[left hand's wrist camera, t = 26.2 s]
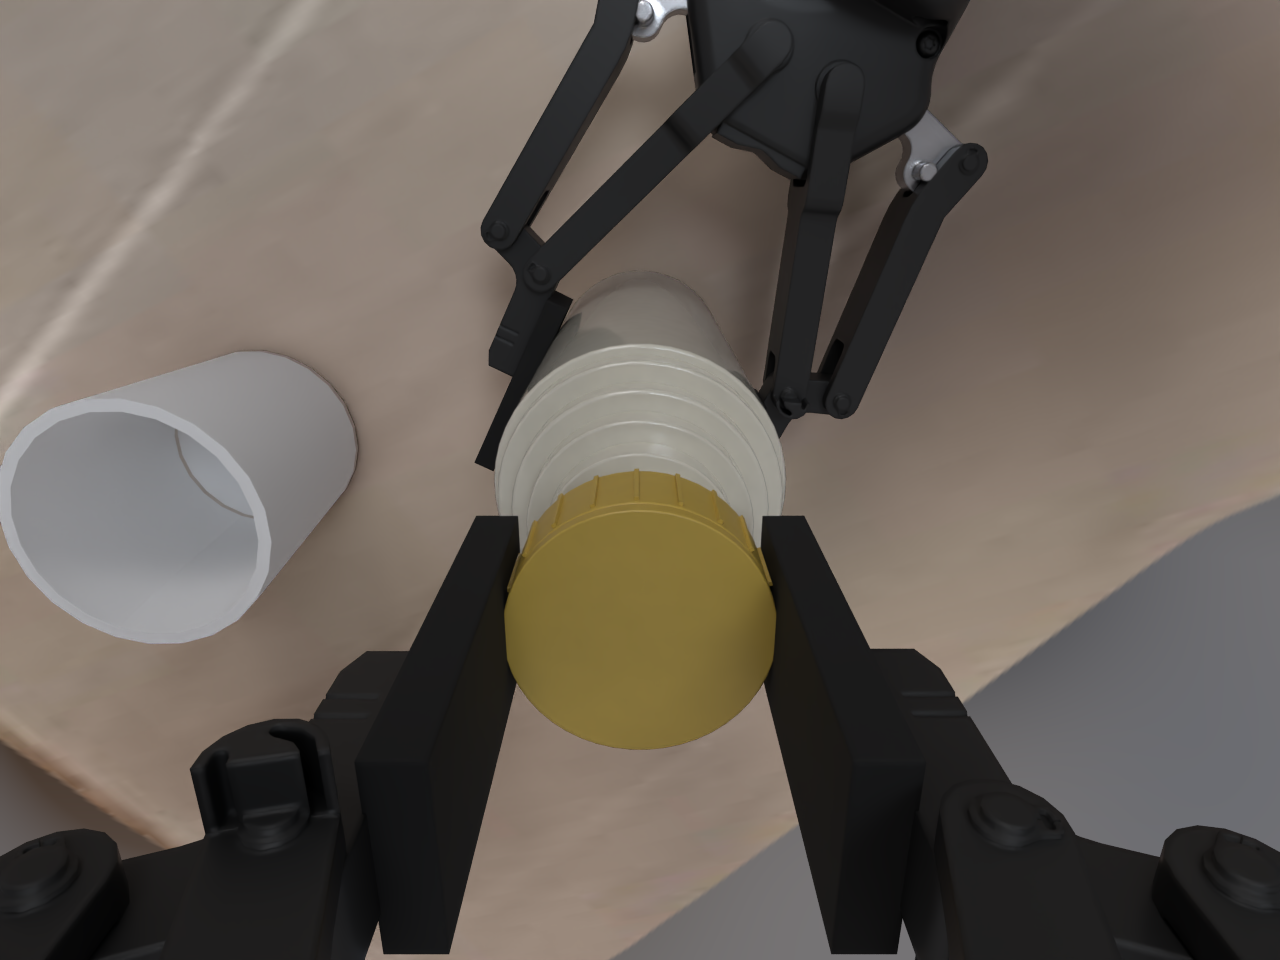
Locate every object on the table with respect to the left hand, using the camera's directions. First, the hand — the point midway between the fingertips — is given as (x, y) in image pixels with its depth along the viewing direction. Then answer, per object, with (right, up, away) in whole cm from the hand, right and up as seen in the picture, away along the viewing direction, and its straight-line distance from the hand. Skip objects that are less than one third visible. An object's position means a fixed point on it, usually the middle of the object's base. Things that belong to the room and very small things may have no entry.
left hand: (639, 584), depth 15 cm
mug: (-18, +4, +22) cm, 28 cm away
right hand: (-2, +1, +16) cm, 16 cm away
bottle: (0, +7, +20) cm, 22 cm away
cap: (0, -1, -1) cm, 2 cm away
